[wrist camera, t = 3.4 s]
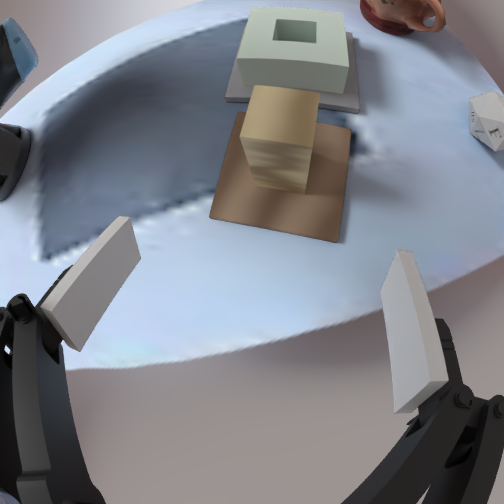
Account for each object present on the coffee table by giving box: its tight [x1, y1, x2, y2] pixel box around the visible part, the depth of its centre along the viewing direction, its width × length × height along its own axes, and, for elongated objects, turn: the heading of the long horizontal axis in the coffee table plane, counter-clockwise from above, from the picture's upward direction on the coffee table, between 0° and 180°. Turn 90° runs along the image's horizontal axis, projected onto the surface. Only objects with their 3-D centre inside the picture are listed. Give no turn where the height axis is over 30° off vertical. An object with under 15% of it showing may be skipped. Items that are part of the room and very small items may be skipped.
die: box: [469, 91, 504, 152], centre depth 22 cm, size 8×9×10 cm
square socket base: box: [225, 7, 360, 114], centre depth 27 cm, size 16×16×6 cm
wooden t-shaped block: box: [209, 85, 351, 243], centre depth 23 cm, size 13×13×11 cm
